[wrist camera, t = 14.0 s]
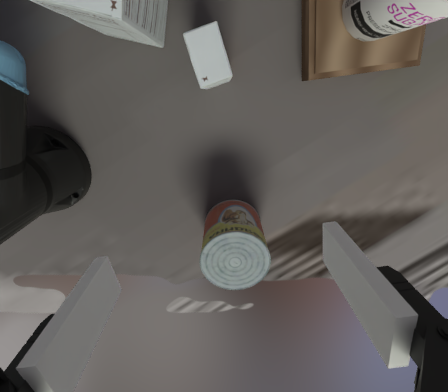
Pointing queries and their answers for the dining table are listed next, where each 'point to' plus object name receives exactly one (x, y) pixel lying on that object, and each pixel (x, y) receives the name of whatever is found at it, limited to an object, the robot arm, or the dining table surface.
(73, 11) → the supplement box
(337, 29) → the tray
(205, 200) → the dining table surface
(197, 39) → the skincare box
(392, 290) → the robot arm
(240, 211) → the canned food
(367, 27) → the supplement can
